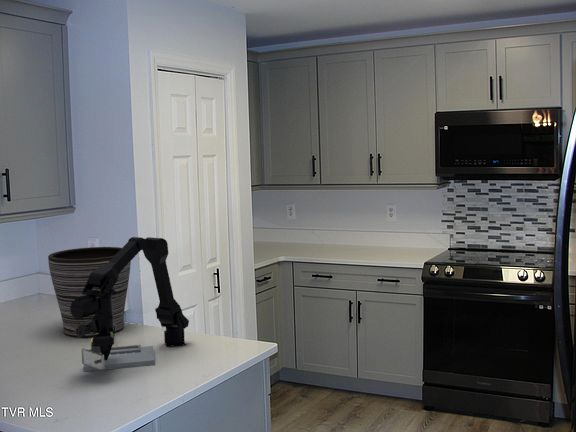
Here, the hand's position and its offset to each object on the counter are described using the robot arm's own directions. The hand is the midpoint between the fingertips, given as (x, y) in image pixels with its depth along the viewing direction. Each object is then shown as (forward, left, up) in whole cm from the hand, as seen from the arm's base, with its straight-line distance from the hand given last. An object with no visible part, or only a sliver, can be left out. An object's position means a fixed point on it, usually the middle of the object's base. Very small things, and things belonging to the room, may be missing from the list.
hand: (105, 360), depth 209 cm
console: (-4, -10, -4) cm, 11 cm away
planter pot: (+6, -51, -4) cm, 51 cm away
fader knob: (+3, -15, -2) cm, 15 cm away
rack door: (+4, 0, -2) cm, 4 cm away
